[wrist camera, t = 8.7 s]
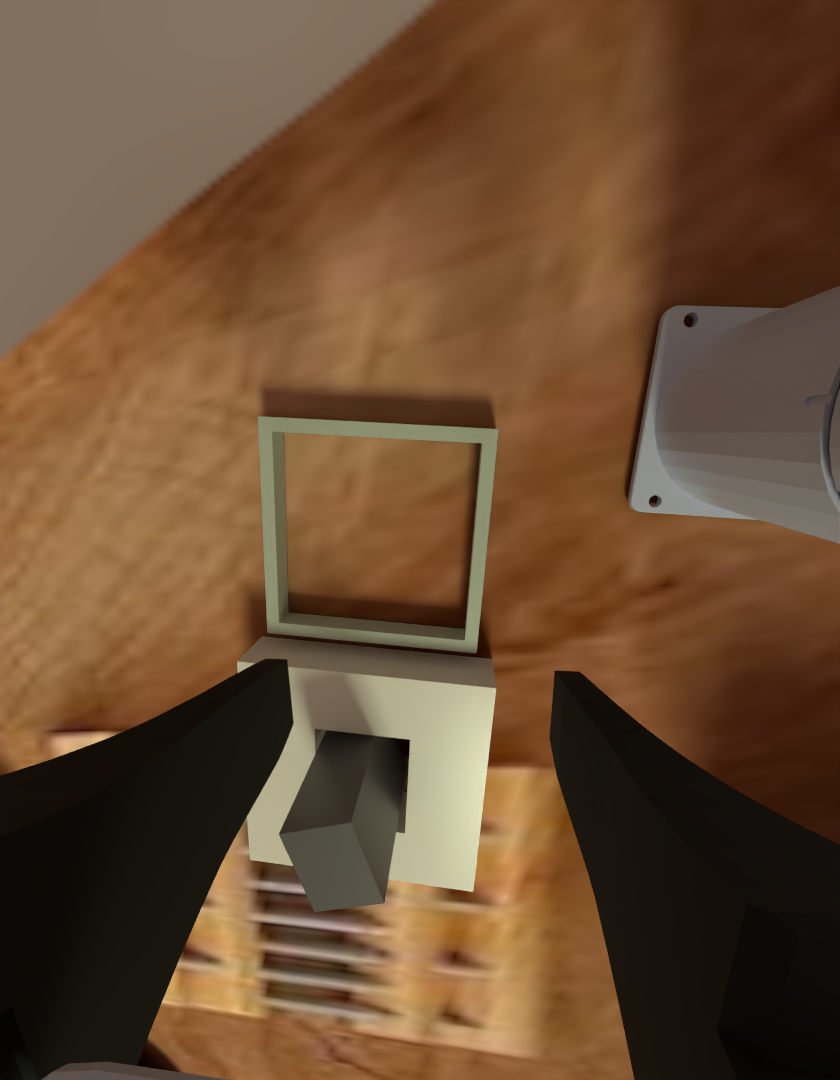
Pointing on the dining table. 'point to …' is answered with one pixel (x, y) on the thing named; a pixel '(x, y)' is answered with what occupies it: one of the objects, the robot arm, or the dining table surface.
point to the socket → (398, 712)
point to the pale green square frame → (277, 539)
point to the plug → (346, 820)
